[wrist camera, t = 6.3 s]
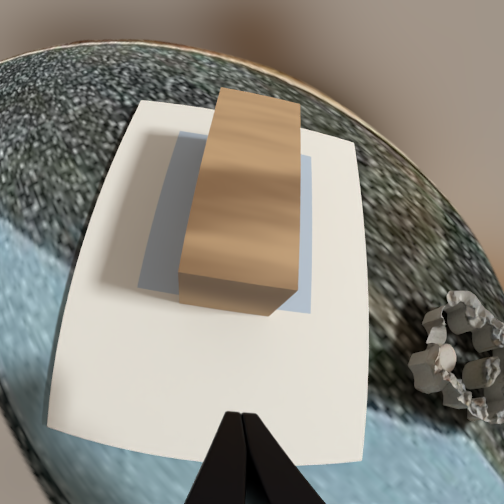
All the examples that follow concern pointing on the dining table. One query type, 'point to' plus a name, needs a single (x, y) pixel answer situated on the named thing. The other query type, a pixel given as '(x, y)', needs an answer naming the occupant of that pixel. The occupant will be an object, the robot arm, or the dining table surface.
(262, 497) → the robot arm
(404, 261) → the dining table surface
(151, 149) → the mat
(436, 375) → the egg carton
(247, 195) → the oak block
